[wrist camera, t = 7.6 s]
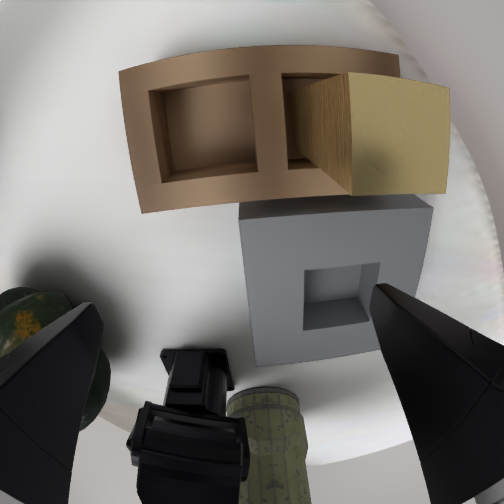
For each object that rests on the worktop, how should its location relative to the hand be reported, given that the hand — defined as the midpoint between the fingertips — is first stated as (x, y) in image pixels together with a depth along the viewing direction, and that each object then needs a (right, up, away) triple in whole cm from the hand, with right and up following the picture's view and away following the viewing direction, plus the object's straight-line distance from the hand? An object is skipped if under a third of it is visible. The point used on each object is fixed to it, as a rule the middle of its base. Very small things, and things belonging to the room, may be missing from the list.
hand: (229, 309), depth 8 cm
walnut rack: (+1, +10, +8) cm, 13 cm away
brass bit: (+5, +10, +7) cm, 13 cm away
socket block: (+6, +1, +13) cm, 15 cm away
